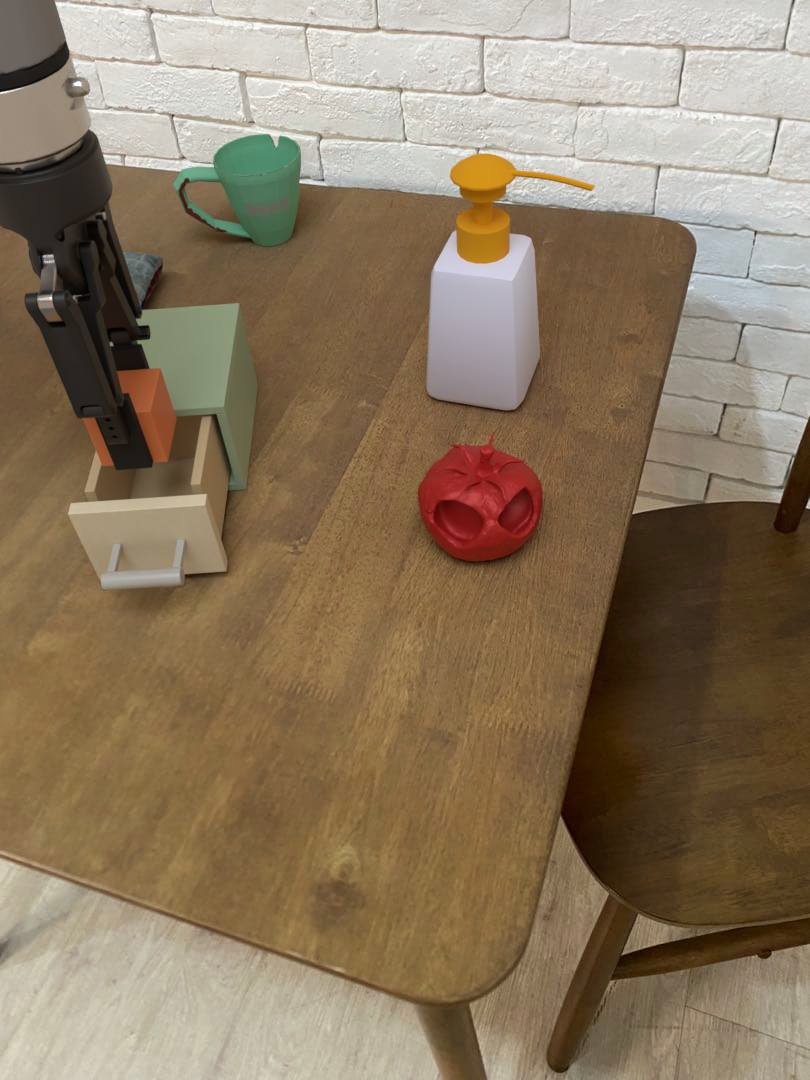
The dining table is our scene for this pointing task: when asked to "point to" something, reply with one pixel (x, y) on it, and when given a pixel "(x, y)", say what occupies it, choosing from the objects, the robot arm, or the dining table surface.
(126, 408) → the robot arm
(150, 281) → the packaged food
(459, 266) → the soap bottle
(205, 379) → the cabinet
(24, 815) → the dining table surface
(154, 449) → the block
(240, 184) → the mug
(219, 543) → the drawer
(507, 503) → the red carved tomato
